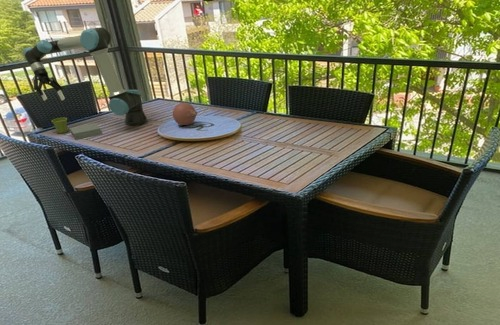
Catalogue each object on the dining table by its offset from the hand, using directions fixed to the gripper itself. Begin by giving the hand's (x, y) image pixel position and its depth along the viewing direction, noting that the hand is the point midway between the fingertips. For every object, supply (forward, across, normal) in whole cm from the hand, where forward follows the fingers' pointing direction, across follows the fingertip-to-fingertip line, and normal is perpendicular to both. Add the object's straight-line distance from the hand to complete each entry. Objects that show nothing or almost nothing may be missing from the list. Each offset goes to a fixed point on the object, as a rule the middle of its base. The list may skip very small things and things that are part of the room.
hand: (54, 99), depth 227 cm
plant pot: (+18, -4, -11) cm, 22 cm away
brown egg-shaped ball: (+54, -34, +59) cm, 87 cm away
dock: (+29, -4, +6) cm, 30 cm away
